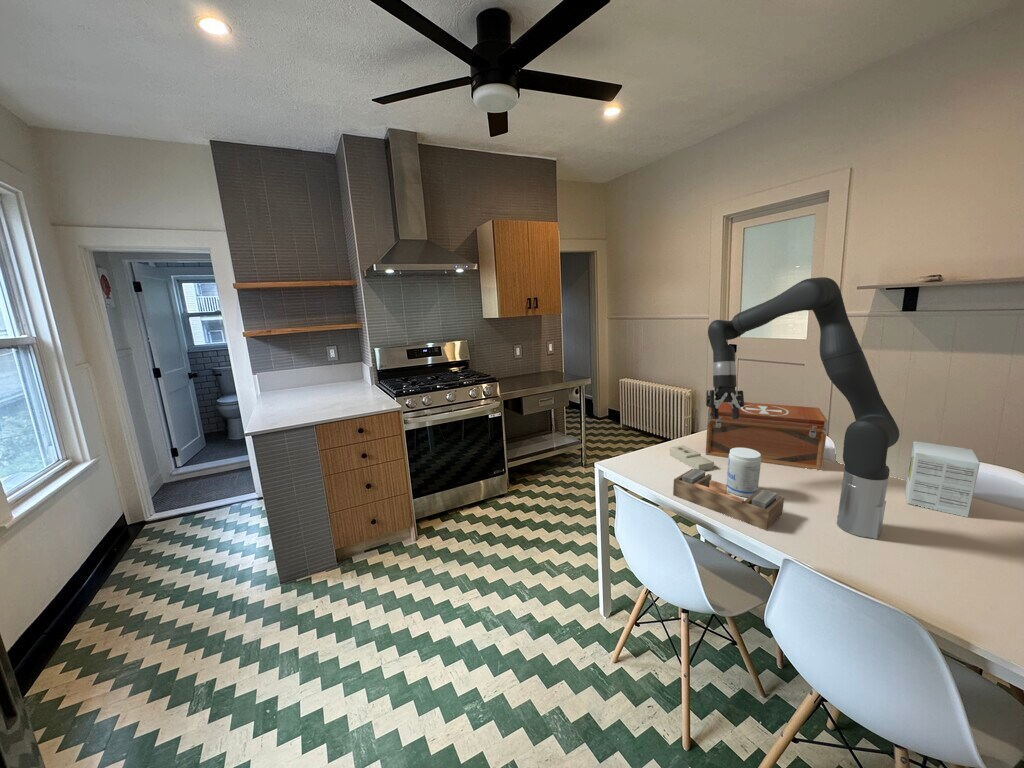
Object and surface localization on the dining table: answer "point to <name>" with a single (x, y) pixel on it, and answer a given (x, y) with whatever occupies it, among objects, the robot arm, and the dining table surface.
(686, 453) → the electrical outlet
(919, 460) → the supplement box
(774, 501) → the rack
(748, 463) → the supplement tub
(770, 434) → the wooden box
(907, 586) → the dining table surface
